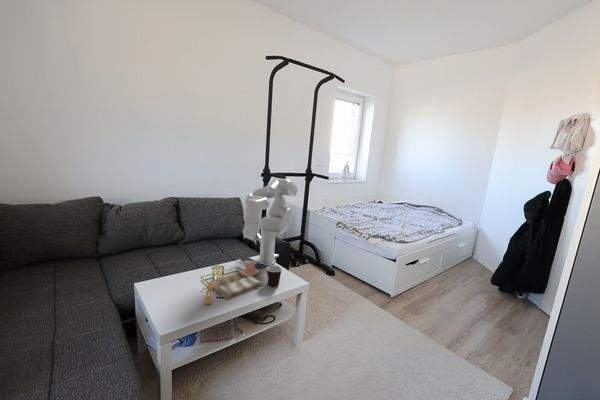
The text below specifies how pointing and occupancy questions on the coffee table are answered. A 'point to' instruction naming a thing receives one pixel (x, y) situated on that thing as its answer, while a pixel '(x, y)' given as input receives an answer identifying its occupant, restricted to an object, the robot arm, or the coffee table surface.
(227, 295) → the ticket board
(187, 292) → the coffee table surface
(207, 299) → the figurine
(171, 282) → the coffee table surface
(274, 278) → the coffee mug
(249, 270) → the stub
